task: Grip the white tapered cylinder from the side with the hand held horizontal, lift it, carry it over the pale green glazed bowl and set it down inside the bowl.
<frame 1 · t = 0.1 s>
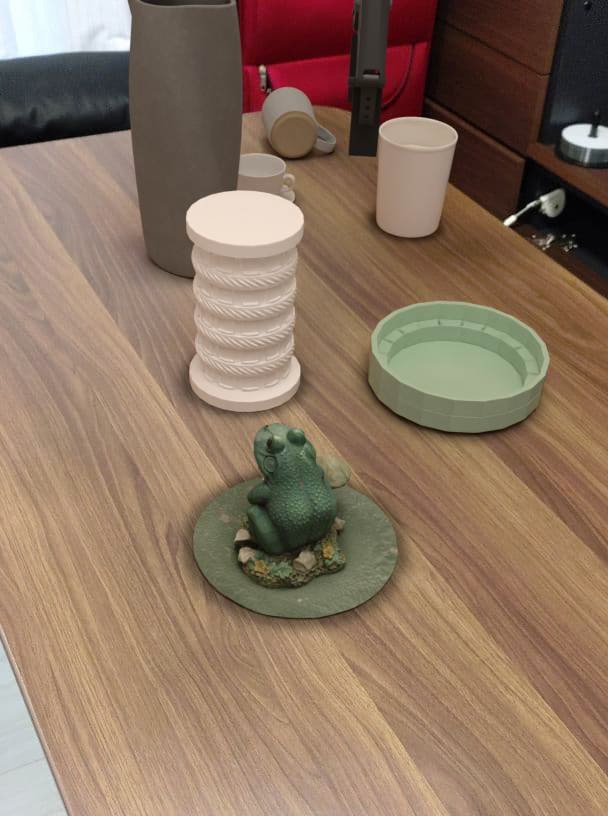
hand: (361, 127, 99), 21 cm above the table, tool pointing down, fingers open, 13 cm apart
ceramic mug: (298, 150, 144), on the table
teacup: (258, 199, 132), on the table
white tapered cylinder: (406, 224, 129), on the table
frog figurine: (295, 543, 85), on the table
bowl: (453, 383, 103), on the table
vase: (192, 263, 119), on the table
decorative container: (245, 380, 102), on the table
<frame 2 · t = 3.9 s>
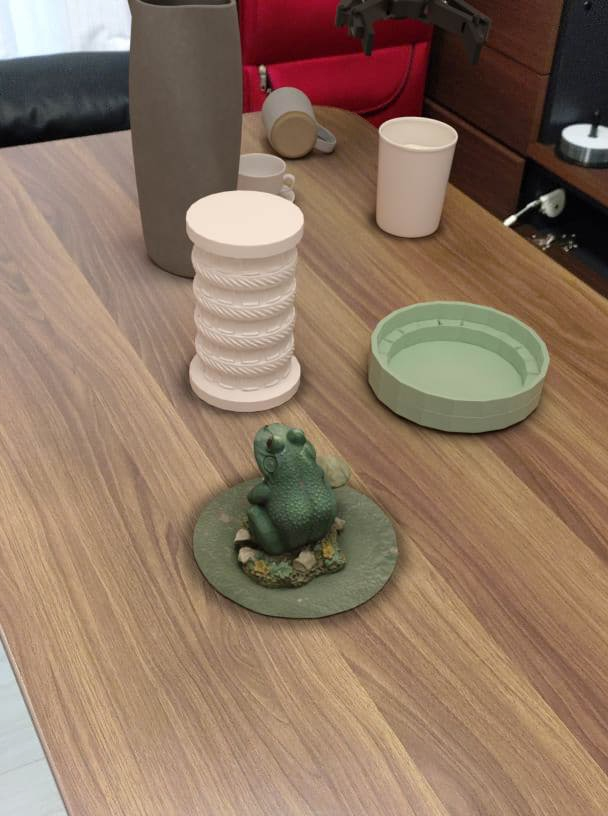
hand: (424, 49, 120), 19 cm above the table, tool horizontal, fingers open, 13 cm apart
nothing on the table moved.
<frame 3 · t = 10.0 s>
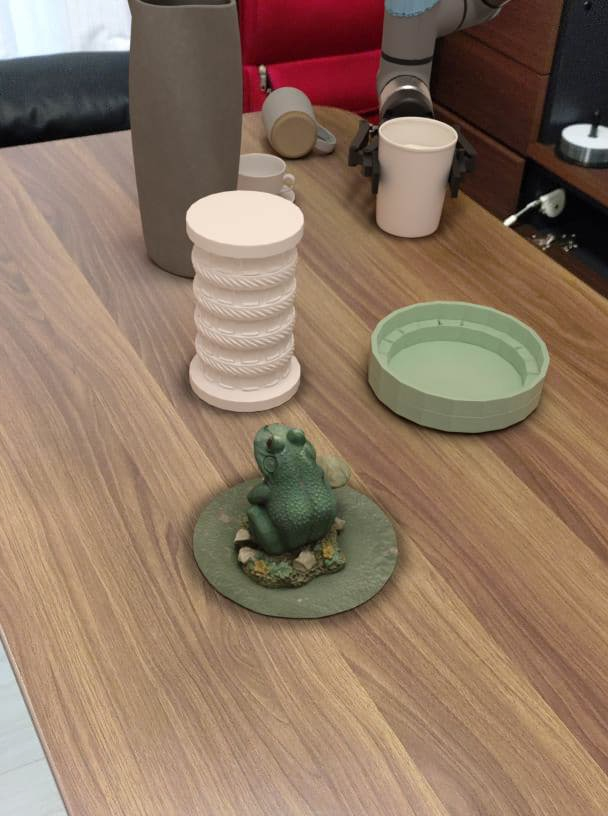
hand: (415, 185, 121), 7 cm above the table, tool horizontal, fingers closed on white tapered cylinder, 9 cm apart
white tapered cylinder: (406, 224, 129), on the table, touching gripper
everything else where it was.
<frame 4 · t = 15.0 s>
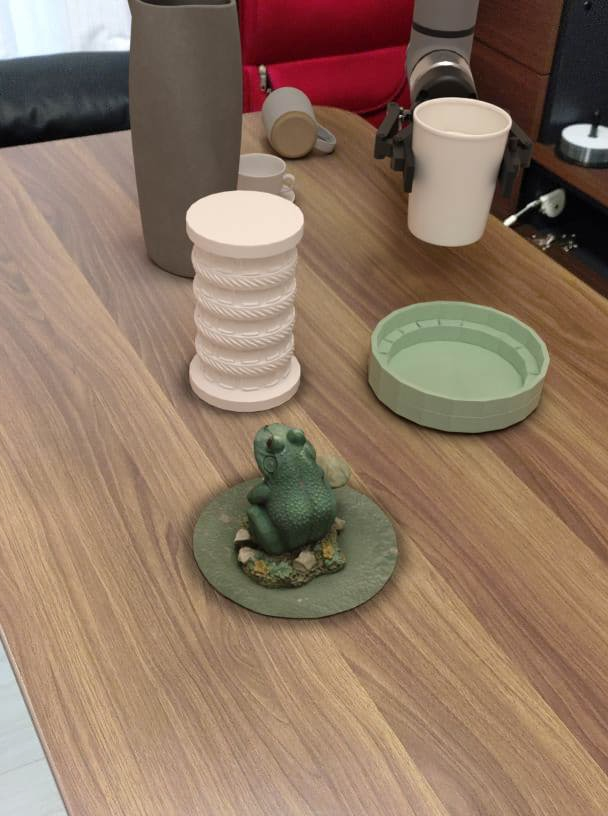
hand: (459, 182, 97), 18 cm above the table, tool horizontal, fingers closed on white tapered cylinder, 9 cm apart
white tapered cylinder: (445, 230, 105), point 10 cm above the table, touching gripper
everything else where it was.
when the fingers open (8 cm above the table, at t = 20.1 s): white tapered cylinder stays where it is, resting on bowl.
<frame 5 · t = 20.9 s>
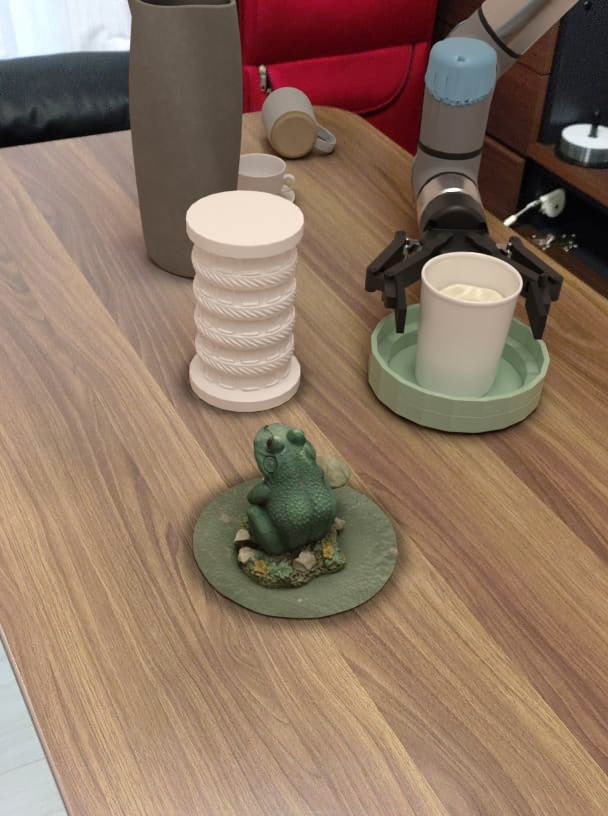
hand: (471, 324, 95), 9 cm above the table, tool horizontal, fingers open, 13 cm apart
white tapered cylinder: (453, 380, 103), resting on bowl
everything else where it was.
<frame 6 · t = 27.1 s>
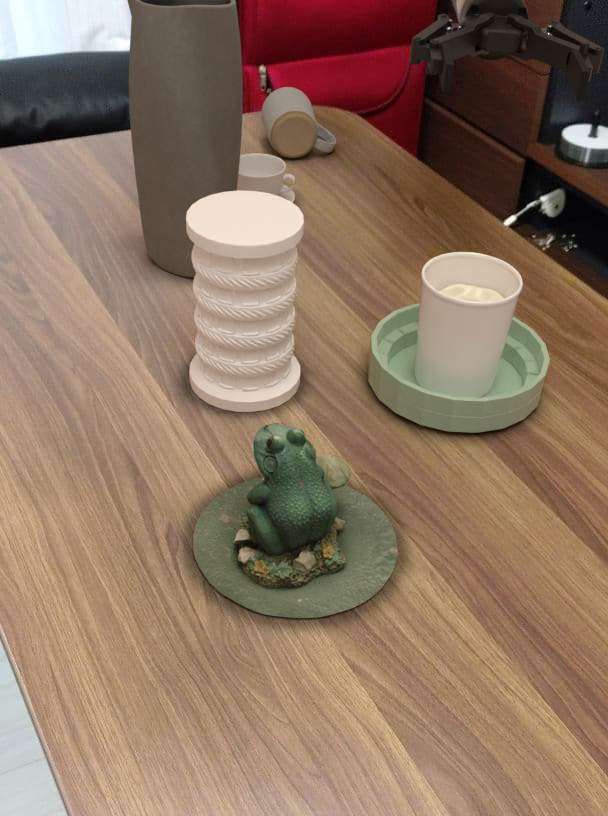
hand: (516, 82, 98), 25 cm above the table, tool horizontal, fingers open, 13 cm apart
nothing on the table moved.
at the end: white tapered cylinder inside the target area in the bowl (0.1 cm from its centre), point 0.4 cm above the bowl's base; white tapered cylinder tilted 0°; the gripper is holding nothing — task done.
